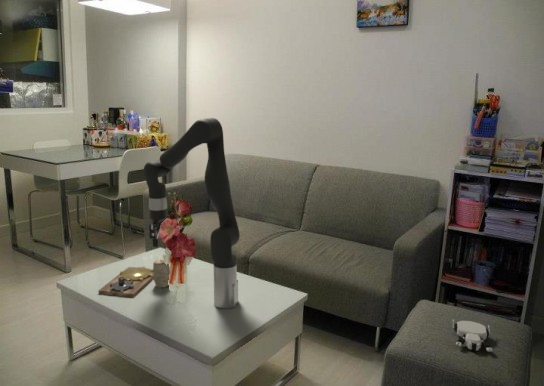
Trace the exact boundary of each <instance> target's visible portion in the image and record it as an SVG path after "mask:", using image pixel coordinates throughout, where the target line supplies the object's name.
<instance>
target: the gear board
mask: <svg viewBox="0 0 544 386" xmlns="http://www.w3.org/2000/svg"><path fill="white" fill-rule="evenodd" d="M153 280H154V278H153V268H147V267H146V266H143V265H142V266H141V267H140V266H139V267H137V266H136V267H135V266H128V267H126V268H125V269H124V270H120V271H119V273H118V275H116V276H115V277H114V278H113V279H111V280H110V281H109V282H107V283H106V284H105V285H103V287H101V288H100V289H98V294H99V295H108V296H109V295H110V296H116V297H117V296H118V297H124V298H125V297H126V298H135V297H136V296H137V295H138V294H139V293H140V292H141V291H142V290H143V289H144V288H145V287H147V286H148V285H149V284H150V283H151V282H152V281H153Z"/></svg>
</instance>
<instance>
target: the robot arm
mask: <svg viewBox="0 0 544 386" xmlns="http://www.w3.org/2000/svg"><path fill="white" fill-rule="evenodd" d="M203 144H206V147H207V153H208V155H207V162H206V167H205V171H204V185H205V190H206V194H207V197H208V199H209V200H210V203H212V206H213V207H214V208H215V210H216V212H217V215H218V221H219V223H218V224H219V226H218V227H217V228H214V229H213V231H211V234H210V255H211V259H212V261H213V262H212V263H213V302H214V303H213V304H214V306H215V307H216V308H220V309H231V308H235V307H236V306H237V304H238V302H239V279H238V278H237V277H238V276H237V274H238V273H237V270H238V269H237V263H238V262H237V261H238V260H237V257H236V256H235V255H234V254H232V253H233V251H232V249H233V247H234V246H235V245H236V244H237V243H238V242H239V240H240V236H241V235H240V229H239V225H238V222H237V217H236V214H235V210H234V205H233V199H232V194H231V185H230V184H231V183H230V179H229V178H230V177H229V175H228V169H227V162H226V154H225V143H224V131H223V126H222V124H221V122H220V121H219V119H217V118H214V117H208V118H200V119H198V120H196V121H194V122H193V124H192V125H191V126H190V127H189V128H188V129H187V130H186V132H185V133H184V134H183V135H182V136H181V137H180V138H179V139H178V140H177V141H176V142H175V143H174V144H172V145H171V146H170V147H169V148H167V149H166V150H165V151H164V152H162V153H161V155H160V157H159V159H157V160H154V161H153V160H152V161H148V162H146V163H145V165H144V166H143V176H144V178H145V183H146V184H147V188H148V214H149V215H148V217H149V219H150V220H152V224H149V225H148V226H149V231H148V232H149V239H152V247H153V248H158V247H159V246H160V245H159V235H160V234H158V232H159V230H160V225H161V223H162V222H163V221H164V220H165V219H166V218H167V213H168V200H167V189H166V188H167V187H166V184H165V183H164V182H160V181H159V178H163V177H164V176H167V175H168V174H170V172H171V171H172V170H173V169H174V167H176V166H177V165H179V164H180V163H181V162H182V161H183V160H184V159H185V158H186V157H187V155H188V154H189V152H191V151H192V150H194V148H196V147H198V146H201V145H203Z"/></svg>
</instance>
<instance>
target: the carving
mask: <svg viewBox="0 0 544 386" xmlns="http://www.w3.org/2000/svg"><path fill="white" fill-rule="evenodd" d="M164 259H165V258H157V259H156V260H154V261H153V263H152V264H153V266H152V269H153V278H154V279H153V280H154V281H153V282H154V284H155V286H156V287H157V288H166V287H168V286H169V285H168V280H169V274H171V269H170V268H171V267H170V263H169V264H167V265H166V264H165V263H164Z"/></svg>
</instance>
